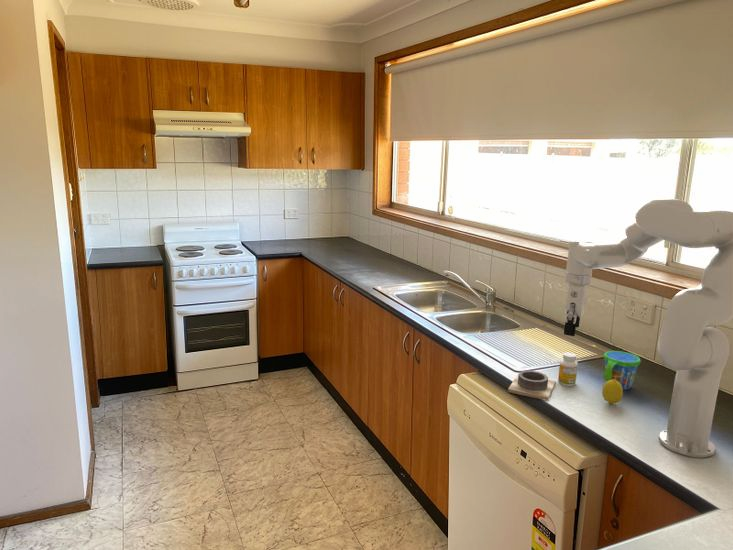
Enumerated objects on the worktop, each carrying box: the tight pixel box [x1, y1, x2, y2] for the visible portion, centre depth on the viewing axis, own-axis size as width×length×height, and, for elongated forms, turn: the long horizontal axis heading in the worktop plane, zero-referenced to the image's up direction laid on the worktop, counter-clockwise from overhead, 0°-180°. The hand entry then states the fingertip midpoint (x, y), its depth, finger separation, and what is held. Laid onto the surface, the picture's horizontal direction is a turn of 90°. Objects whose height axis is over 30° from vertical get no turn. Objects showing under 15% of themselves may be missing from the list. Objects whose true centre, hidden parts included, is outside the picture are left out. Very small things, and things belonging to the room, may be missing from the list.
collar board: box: [507, 370, 557, 401], centre depth 175 cm, size 14×12×4 cm
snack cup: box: [603, 350, 642, 391], centre depth 178 cm, size 16×10×10 cm
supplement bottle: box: [557, 352, 579, 387], centre depth 179 cm, size 5×5×10 cm
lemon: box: [601, 379, 624, 405], centre depth 165 cm, size 6×6×8 cm
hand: (571, 330), depth 177 cm, fingers open, 9 cm apart
